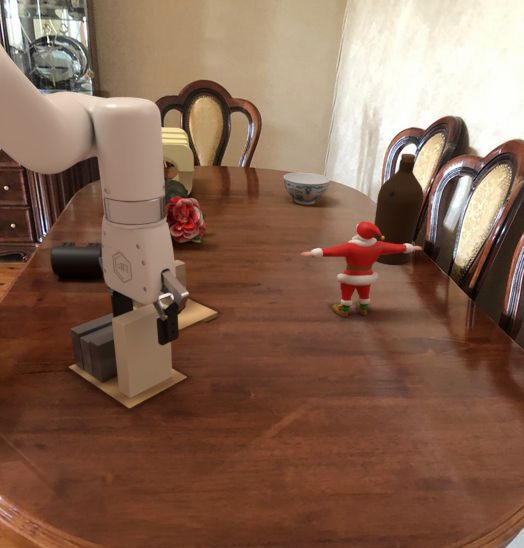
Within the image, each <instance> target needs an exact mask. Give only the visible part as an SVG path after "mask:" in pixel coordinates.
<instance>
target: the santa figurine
mask: <svg viewBox="0 0 524 548" xmlns="http://www.w3.org/2000/svg"><path fill="white" fill-rule="evenodd" d="M354 234H355V235H354V236H352V238H351V240H348V241H347V242H345V243H343V244H338V245H334V246H331V247H325V248H321V247H316V248H313V249H311V250H310V251H303V252H301V253H300V256H302V257H305V258H306V257H307V258H308V257H312V258H314V259H321V258H344V259H345V263H346V269H345V270H344V271H343V272H342V273H338V274H337V276H336V281H337V282H338V283H339V284H340V286H339V287H340V288H339V289H340V291H341V292H340V293H341V299H340V304H338V303H334V304H332V306H331V309H332V312H333V314H336V315H338V316H340V317H341V318H348V316H349V309H350V308H351V306H352V305H353V302H354V301H353V299H352V297H353V295H354V292H355V291H356V292H357V295H358V299H357V304H356V309H357V311H358V313H359V315H360V316H363V317H364V316H367V315H368V310H367V309H368V305H369V304H370V301H371V298H370V292H371V285H373V284H375V283H376V282H377V281H378V279H379V274H378V272H377V271H375V270H373V269H372V268H373V265H374V264H375V263H376V262H377V261H376V260H377V258H378V257H379V256H380V254H381V255H383V254H394V253H401V252H403V253H410V254H411V253H412V252H414V251H422V250H423V247H422V246H419V245H413V244H412V245H411V244H392V243H386V242H382V241H377V240H376V239H375V238H373V237H374V236H375V234H377V235H379V236H381V239H382V240H384V236H382V235H381V233H380V231H379V229H378V227H377V226H376V225H375V223H372V222H370V221H361V222H359V223H357V225H356V226H355V231H354Z"/></svg>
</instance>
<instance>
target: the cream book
mask: <svg viewBox="0 0 524 548" xmlns="http://www.w3.org/2000/svg"><path fill="white" fill-rule="evenodd" d="M162 304H163V303H162ZM163 306H164V308H165V309H166V308H167V307H168V306H167V305H165V304H163ZM159 317H160V316H159V315H158V313H157V311H156V309H155V307H154V305H153V303H152V304H150V305H146V306H143V307H141V308H138V309H135V310H133V311H130V312H128V313H125V314H123V315H120V316H117V317H115V318H112V325H113V334H114V344H115V354H116V364H117V373H118V383H119V391H120V392H122V393H123V394H125V395H126V396H128V397H129V398H132V397H134V396H136V395H138V394H139V393H141V392H143V391H145V390H147V389H149V388H151V387H153V386H155V385H157V384H159V383H160V382H162V381H164V380H166V379H168V378H170V377H172V369H173V359H172V356H173V355H172V342H169V343H167V344H165V345H163V346H162V345H160V344H159V343H158V334H157V318H159Z"/></svg>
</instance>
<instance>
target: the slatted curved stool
mask: <svg viewBox="0 0 524 548" xmlns="http://www.w3.org/2000/svg"><path fill="white" fill-rule="evenodd" d="M161 128H162V147H163V161H164V162H168V163H170V164H172V165H173V166H174V167H175V169H176V170H177V174H176V176H175V177H174V178H171V179H170V180H176V181H179V182H180V183H182V184H183V185H184V186H185V188H186V190H188V196H189V195H190V194H191V192H192V189H193V172H195V157H194V153H193V150H192V149H191V147H190V140H189V135H188V133H187V132H186V131H185V130H184V129H183V128H180V127H166V126H165V127H164V126H161ZM165 181H166V180H164V182H165Z"/></svg>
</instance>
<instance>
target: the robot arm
mask: <svg viewBox="0 0 524 548" xmlns="http://www.w3.org/2000/svg"><path fill="white" fill-rule="evenodd" d="M6 51H7V50H6V49H5V48H4V47H3V45H2V44H1V42H0V149H1V150H2V151H3V152H5V154H6V155H8V157H10V158H11V159H13V161H15V162H16V163H18V164H20V165H21V166H22V167H24V168H25V169H27V170H30V171H32V172H34V173H37V174H41V175H55V174H59V173H62V172H65V171H67V170H68V169H70V168H71V167H73V166H74V165H76V164H77V163H79V162H83V161H85V160H88V159H90V158H94V157H97V163H98V170H99V172H98V173H99V180H100V189H101V197H102V204H103V205H102V207H103V214H104V215H102V222H101V244H102V257H100V258H99V259H98V260H99V263H100V266H101V268H102V271H103V272H104V273H103V277H102V278H103V279H104V282H105V285H106V286H107V289H106V290H107V292H108V294H109V295H110V302H111V307H112V308H111V309H112V310H111V311H112V313H113V318H115V317H117V316H120V315H123V314H125V313H128V312H130V311H133V299H134V300H136V301H138V302H140V303H143V304H146V305H150V304H152V303H153V305H154V307H155V309H156V311H157V313H158V315H159V316H160V317H159V318H157V334H158V343H159V344H160V345H162V346H163V345H165V344H167V343H169V342H171V343H172V342H173V341H176V340H178V339H179V338H180V332H179V328H178V314H180V313H181V311H182V310H183V309H184V308H185V304H186V302H187V300H188V299H190V298H189V297H190V292H189V291H188V289H187V288H186V289H185V288H184V287H183V285H182V284H181V283H180V282H179V281H178V280H177V279H176V272H175V261H176V260H175V255H174V247H173V241H172V239H171V235H170V230H169V226H168V223H167V222H166V219H167V218H166V201H165V183H164V181H165V167H164V166H165V165H164V160H163V147H162V128H161V127H162V118H161V117H162V115H161V110H160V108H159V106H158V105H157V104H156V103H155V102H154V101H152V100H150V99H146V98H141V97H131V96H115V97H107V98H106V97H101V96H94V95H90V94H85V93H80V92H75V91H57V92H53V93H47V94H43V93H42V92H41V91H40V90H39V89H38V88H37V87H36V86H35V85H34V83H32V81H31V80H30V79H29V78H28V77H27V76H26V74H24V72H23V71H22V70H21V69H20V68H19V67H18V65H17V64H16V63H15V62H14V60H13V59H12V58H11V57H10V55H9V54H8V52H6ZM174 260H175V261H174ZM160 292H161V293H163V294H161V295H159V294H160ZM164 299H166V300H167V302H168V304H169V306H168V307H167V308H166V309H165V308H164V306H163V304H162V302H161V301H162V300H164Z"/></svg>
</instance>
